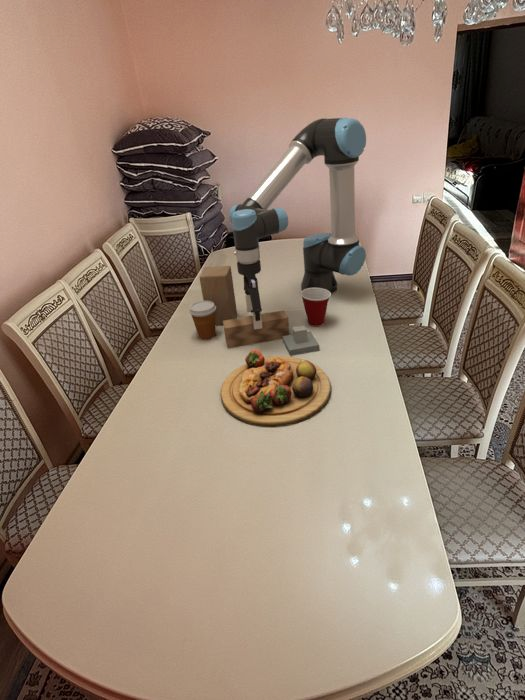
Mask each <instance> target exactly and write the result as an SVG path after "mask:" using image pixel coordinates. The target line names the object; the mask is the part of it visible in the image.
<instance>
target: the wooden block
mask: <svg viewBox="0 0 525 700" xmlns="http://www.w3.org/2000/svg"><path fill="white" fill-rule="evenodd" d="M198 279H199V283H200V288H201V296H202V301H211V302H213V303H214V305H215V306H216V310H215V323H216V326H223V321H224V320H230V319H236V318H237V313H238V309H237V304H236V296H235V288H234V282H233V281H234V280H233V272H232V267H231V265H218V266H205V267H204V268H203V270H202V272H201V273H200V275H199V276H198Z"/></svg>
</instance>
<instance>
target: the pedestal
mask: <svg viewBox="0 0 525 700" xmlns="http://www.w3.org/2000/svg"><path fill="white" fill-rule="evenodd" d="M282 338H283V339H282V343H283V344H284V346H285V349H286V351H287V353H288V354H289V357H292V356H296V355H300V354H307V353H310V352H311V353H312V352H317V351H320V343H319V342H318V341H317V339H316V338H315V336H314V334H313V333H312V332H311V330H309V331H308V329H307V328H306V326H305V325H300V326H295V327H292V334H290V335H287V336H282Z"/></svg>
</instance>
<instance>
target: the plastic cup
mask: <svg viewBox="0 0 525 700" xmlns="http://www.w3.org/2000/svg"><path fill="white" fill-rule="evenodd" d="M331 295H332V294H331V293H330V291H328V290H326V289H322V288H307V289H304V290H303V291H300V297H301V299H302V303H303V306H304V312H305V316H306V320H307V323H308V325H309V326H312V327H320V326H323V325H324V324H325V320H326V319H325V318H326V314H327V309H328V303H329V299H330V298H331Z"/></svg>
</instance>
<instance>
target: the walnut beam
mask: <svg viewBox="0 0 525 700" xmlns="http://www.w3.org/2000/svg"><path fill="white" fill-rule="evenodd" d="M261 318H262V328H261V329H255V330H254V323H253V315H248V316H242V317H235V319H230V320H224V321H223V325H222V326H223V333H224V338H225V342H226V343H225V344H226V347H227V349H231V348H238V347H243V346H248V345H254V344H255V345H256V344H261V343H267V342H271V341H276V340H283V338H282V336H287V335H291V334H290V321H289V316H288V314H287V312H286V310H284V309H283V310H278V311H271V312H266V313H261Z"/></svg>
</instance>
